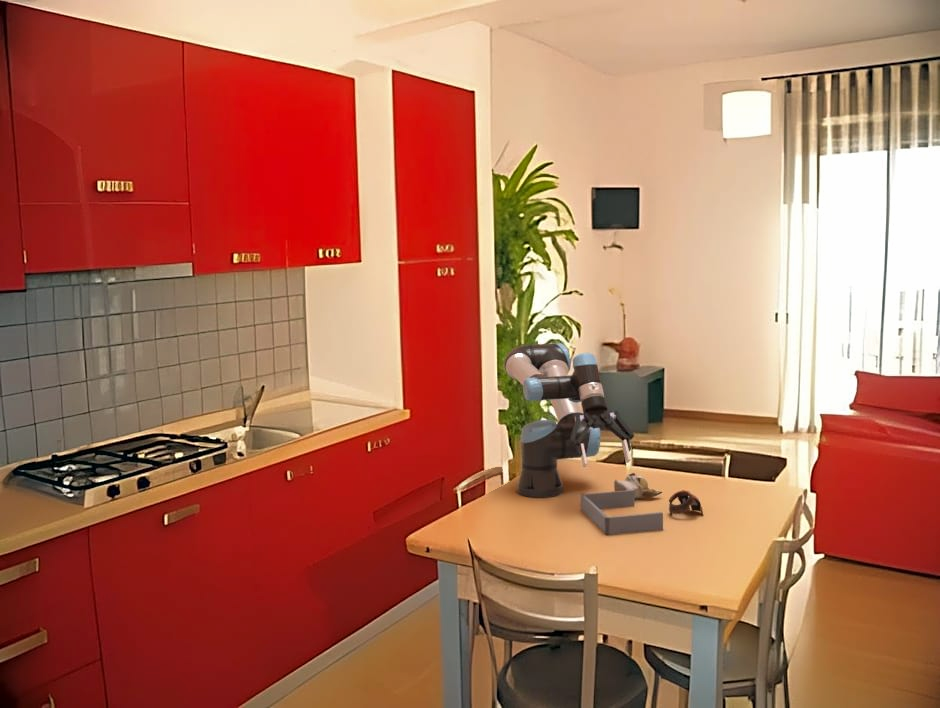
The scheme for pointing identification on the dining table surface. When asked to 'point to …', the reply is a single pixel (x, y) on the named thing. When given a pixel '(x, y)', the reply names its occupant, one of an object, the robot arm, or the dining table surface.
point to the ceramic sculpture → (635, 486)
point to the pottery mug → (684, 503)
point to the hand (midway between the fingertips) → (607, 463)
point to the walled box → (618, 523)
